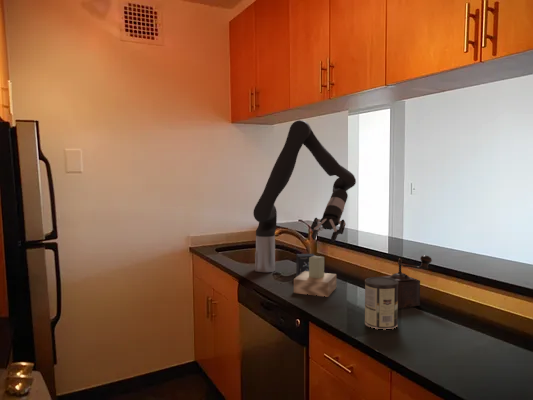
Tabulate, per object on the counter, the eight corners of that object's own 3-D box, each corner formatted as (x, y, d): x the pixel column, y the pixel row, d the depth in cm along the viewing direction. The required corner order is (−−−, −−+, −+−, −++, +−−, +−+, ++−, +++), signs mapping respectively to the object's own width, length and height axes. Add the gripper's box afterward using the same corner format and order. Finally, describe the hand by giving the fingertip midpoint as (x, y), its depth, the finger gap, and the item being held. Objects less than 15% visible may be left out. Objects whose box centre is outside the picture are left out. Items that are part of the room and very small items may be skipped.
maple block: (293, 293, 167) (293, 279, 166) (304, 284, 179) (304, 271, 179) (327, 297, 161) (328, 282, 161) (336, 288, 174) (336, 274, 174)
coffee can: (379, 316, 140) (380, 275, 139) (404, 326, 131) (405, 282, 130) (357, 322, 134) (357, 279, 133) (381, 333, 126) (382, 287, 125)
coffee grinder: (398, 310, 146) (399, 259, 145) (378, 300, 156) (379, 253, 155) (433, 304, 152) (434, 256, 150) (412, 296, 162) (413, 250, 160)
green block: (308, 277, 169) (309, 257, 168) (314, 274, 173) (314, 255, 172) (318, 278, 166) (319, 258, 166) (324, 276, 170) (324, 257, 170)
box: (298, 279, 186) (298, 256, 185) (296, 276, 192) (296, 253, 191) (315, 279, 187) (315, 255, 186) (312, 275, 193) (312, 253, 192)
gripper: (316, 203, 184) (304, 232, 175) (347, 205, 176) (336, 235, 167) (322, 214, 189) (310, 243, 180) (351, 216, 181) (341, 246, 172)
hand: (322, 239), depth 174 cm, fingers open, 8 cm apart
